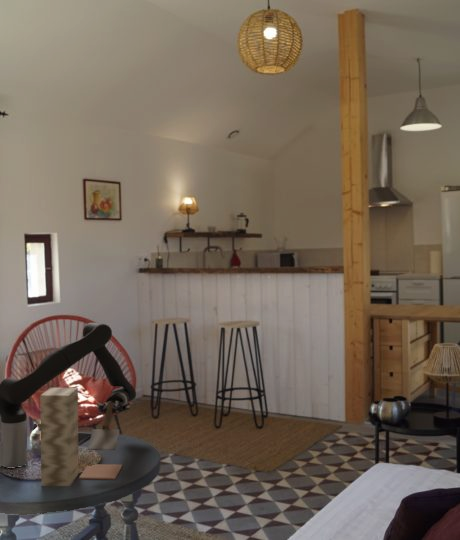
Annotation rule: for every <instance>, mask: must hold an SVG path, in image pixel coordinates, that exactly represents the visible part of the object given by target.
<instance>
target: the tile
mask: <svg viewBox="0 0 460 540" xmlns="http://www.w3.org/2000/svg"><path fill="white" fill-rule="evenodd" d="M94 464H95V465H92V466H88V465H87V466H86V467H85V468H84V470H83V472H81V474H80V476H79V477H78V480H116V478H117V477H118V475H119V473H120V471H121V470H122V468H123V464H115V463H114V464H111V463H110V464H100V463H98V464H96V463H94Z"/></svg>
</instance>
